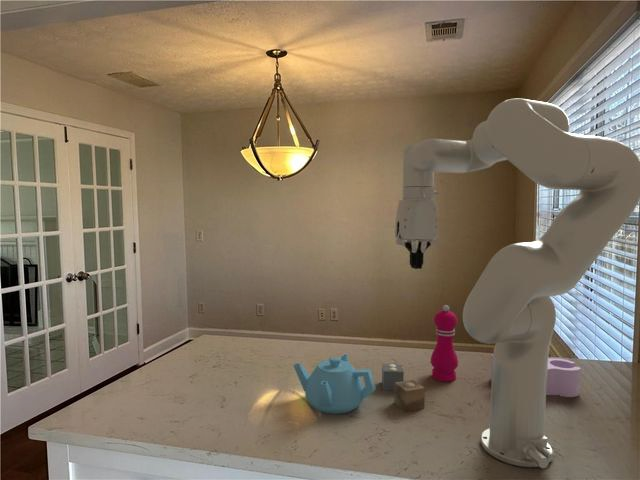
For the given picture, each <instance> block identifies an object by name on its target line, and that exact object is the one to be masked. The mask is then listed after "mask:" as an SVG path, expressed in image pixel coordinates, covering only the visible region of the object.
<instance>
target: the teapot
mask: <svg viewBox="0 0 640 480" xmlns="http://www.w3.org/2000/svg"><path fill="white" fill-rule="evenodd" d="M293 368H294V370H295V373H296V375H297V377H298V380H299V382H300V384H301V387H302V389H303V391H304V392H305V394H304V396H305V399H306V400H307V402H308V404H310V406H311V407H312V408H314V409H315V410H317V411H319V412H322V413H326V414H334V415H339V414H346V413H350V412H352V411H354V410H356V409H357V408H358V407H359V406H360V405H361V403H362V402H363V401H364V399H366V398H367V397H368V396H370V395H371V394H373V393H374V392H375V391H376V389H377V387H376V383H375V381H374V377H373V374H372V370H371V368H367V369H356V368H355V367H354V366H353V365H352V364H351V363H350V362H349V354H345V353H344V354H342V355H341V358H340V357H338V356H332V357H329V358H328V360H322V361H321V362H318V364H317V365H316V366H315V368H314V369H313V371H312V373H311V374H309V372H308V371H307V370H306V369H305V367H304V366H303V365H302V363H300V362H299V363H297V362H296V363H294V364H293ZM361 377H363V382H364V385H363V382H362V379H361ZM364 386H365V387H364Z"/></svg>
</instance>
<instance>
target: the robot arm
mask: <svg viewBox="0 0 640 480" xmlns="http://www.w3.org/2000/svg"><path fill="white" fill-rule="evenodd" d="M487 116H488V117H487V119H486V120H485V121H482V122H480V123H478V125H477V126H476V128H475V129H474V130H473V134H472V138H471V139H468V140H458V139H457V140H454V139H446V138H444V139H443V138H427V139H424V140H422V141H420V142H418V143H410V144H408V145H406V146H405V147H404V148H403V157H402V158H403V162H402V165H403V167H402V199H401V200H398V204H397V210H396V216H395V223H394V236H395V238H396V240H395V244H396V245H398V246H403V247H404V248H406V249H407V251H408V252H409V265H410V268H412V269H415V270H418V269H419V270H421V269H423V265H424V254H425V253H426V251H427V249H428V248H429V247H430V246H431V247H432V246H435V245H437V244H439V241H438V237H439V231H440V230H439V224H440V223H439V222H440V221H439V211H438V210H439V209H438V206H437V201H436V200H434V198H435V197H436V196H439V190H438V189H437V190H436V189H435V173H448V174H465V173H470V172H476V171H480V170H485V169H488V168H491V167H492V166H494V165H495V164H496V163H498V162H503V161H508V162H510V163H511V164H512V165H514V167H515V168H517V169H518V170H519V171H520V172H521V173H523V175H525V176H526V177H527V178H529V179H530V180H531V181H533V182H534V183H535V184H537V185H539V186H542V187H545V188H547V189H551V190H552V189H553V190H562V191H563V190H566V191H567V190H570V191H579V193H578V194H577V196H576V197H575V198H574V199H573V200H572V201H570V202H569V203H568V204H567V205H566V206H565V207H563V208H562V209H561V210H560V211H559V212H558V214H557V215H556V216H555V218H554V219H553V221H552V222H551V224H550V226H549V227H548V229H547V230H545V232H544V234H543V235H542V236H541V237H540V238H539V239H537V240H534V241H530V242H529V241H527V242H516V243H512V244H509V245H506V246H505V247H502V248H501V249H500V250H498V251H497V252H496V253H495V254H494V255H493V256H491V258H490V260H489V261H488V263H487V264H486V266H485V269H483V271H482V273H481V274H480V275H479V278H478V280H477V281H476V283H475V285H474V286H473V288H472V289H471V291H470V293H469V294H468V296H467V299H466V301H465V303H464V306H463V310H462V321H463V322H462V323H463V325H464V328H465V330H466V332H467V333H468V335H469V336H470V337H471V338H473V339H474V340H475V341H477V342H479V343H483V344H491V345H493V344H495V345H494V349H493V353H492V355H493V359H492V380H490V381H491V382H490V383H491V386H490V408H489V409H490V411H489V412H490V413H489V428H487V429H485V430H484V431H483V432H482V433H481V435H480V445H481V446H482V448H483V449H484V450H485V451H486V452H487V453H488V455H490V456H492V457H494V458H495V459H497V460H499V461H501V462H503V463H506V464H509V465H513V466H517V467H523V468H541V469H546V468H547V467H548V466H549V463H550V462H553V461H554V460H555V459H556V455H555V454H554V452H553V448H552V447H551V445H550V444H549V442H548V437H546V436H545V422H546V407H547V406H546V404H547V401H546V400H547V396H546V386H547V370H548V359H549V356H550V355H549V353H550V347H551V342H552V338H553V334H554V331H555V330H554V329H555V326H556V321H557V320H556V319H557V318H556V317H557V313H556V307H555V304H554V302H553V300H552V298H551V297H557V296H562V295H564V294H567V293H569V292H570V291H571V290H573V289H574V288H575V287H576V286H577V284H578V283H579V281H581V279H582V278H583V277H584V275H585V274H586V272H588V271H589V269H590V267H591V266H592V265H593V264H594V262H595V261H596V260H597V259H598V257H599V256H600V255H601V253H602V252H603V250H604V249H605V247H606V246H607V245H608V244H609V243H610V241H611V240H612V238H613V237H614V236H615V235H616V234H617V233H618V231H619V230H620V229H621V228H622V227H623V225H624V224H625V223H626V221H627V220H628V219H629V218H630V216H631V215H632V213H634V211H635V209H636V207H637V206H638V204H639V202H640V158H639V157H638V156H637V154H636V153H635V151H633V150H632V149H631V148H630V147H629V146H628V145H626V144H624V142H623V143H622V142H620V141H618V140H616V139H613V138H610V137H603V136H597V135H586V134H585V135H584V134H577V133H571V132H569V131H570V119H569V117H568V115H567V113H566V112H565V110H563V108H561V107H559V106H558V105H555V104H553V103H549V102H546V101H545V102H544V101H539V100H533V99H532V100H531V99H526V98H519V97H518V98H510V99H506V100H504V101H502V102H500V103H498V104H497V105H496V106H494V108H493V109H492V110H491V112H490V113H489V115H487ZM416 241H417V242H416Z"/></svg>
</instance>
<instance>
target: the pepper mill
mask: <svg viewBox="0 0 640 480" xmlns="http://www.w3.org/2000/svg"><path fill="white" fill-rule="evenodd" d="M433 323H434V325H435V326H436V328H435V334H436V336H437V338H436V339H437V342H436V345H435V347H434V349H433V351H432V354H431V357H430V364H431V366H432V371H431V375H432V377H433V379H434V380H437V381H440V382H453V381H455V380H456V378H457V372H456V369H457V367H458V366H459V359H458V356H457V353H456V350H455V348H454V342H453V339H454V336H455V334H456V333H455V332H456V330H455V327H456V326H457V325H458V318H457V315H456V314H455V313H454V312H452V311H450V306H449V305H447V304H445V305H443V306H442V310H439V311H437V312H436V313H435V315H434V318H433Z"/></svg>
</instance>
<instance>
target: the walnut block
mask: <svg viewBox="0 0 640 480" xmlns="http://www.w3.org/2000/svg"><path fill="white" fill-rule="evenodd" d="M425 391H426V388H425V387H424V386H423V385H421V384H420V383H419V382H417V381H416V380H414V379H409V380H403V381H401V382H395V390H394V401H393V402H394V403H395V405H396V406H397V407H399V408H400V409H401V410H402V411H404V412H405V413H408V412H412V411H413V412H414V411H417V410H419V411H420V410H423V409H425V399H426V397H425V394H426V393H425Z"/></svg>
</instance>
